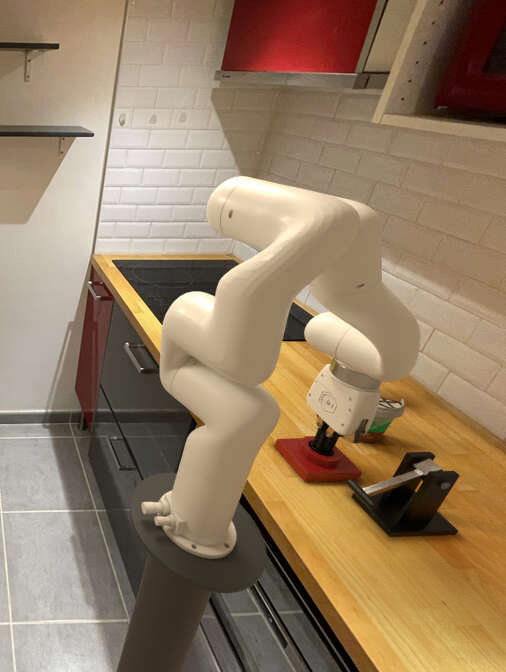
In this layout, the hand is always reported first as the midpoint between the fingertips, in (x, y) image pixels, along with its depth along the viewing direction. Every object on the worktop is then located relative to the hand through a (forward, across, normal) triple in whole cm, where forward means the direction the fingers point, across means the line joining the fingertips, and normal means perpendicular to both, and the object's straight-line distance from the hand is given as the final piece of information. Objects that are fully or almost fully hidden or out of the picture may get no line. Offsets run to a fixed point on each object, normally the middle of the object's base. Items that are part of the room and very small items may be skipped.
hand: (322, 446), depth 89 cm
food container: (+5, -7, +15) cm, 17 cm away
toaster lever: (-3, +12, +3) cm, 13 cm away
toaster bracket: (+4, +12, +7) cm, 15 cm away
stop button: (+2, 0, 0) cm, 2 cm away
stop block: (+4, 0, 0) cm, 4 cm away
